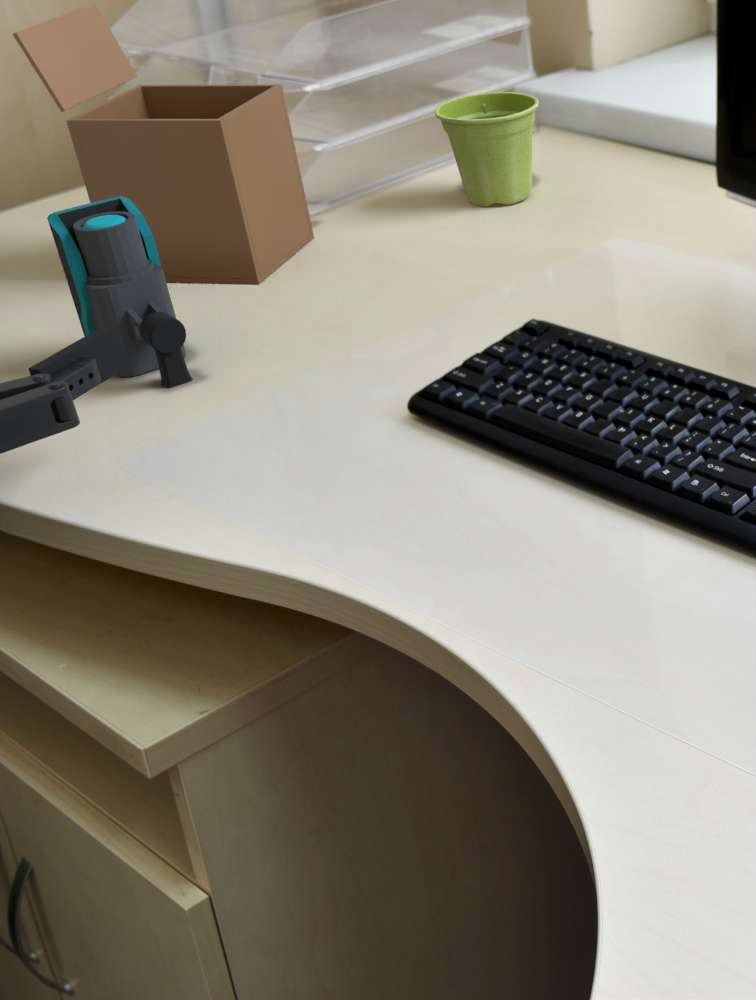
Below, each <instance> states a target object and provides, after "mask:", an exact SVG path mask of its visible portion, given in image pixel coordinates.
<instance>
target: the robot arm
mask: <svg viewBox="0 0 756 1000" xmlns="http://www.w3.org/2000/svg"><path fill="white" fill-rule="evenodd" d="M129 366H130V362H129V359H128V355H127V352H126V349H125V345H124V342H123V339H122V335H121V332H120V329H119V325H117V324H106V325H105V326H103V327H101V328H99V329H98V330H96V331H94V332H92V333H90V334H89V335H87V336H83V337H81V338H80V339H77V340H76V341H75V342H73V343H71V344H69V345H67V346H66V347H63V348H61V349H60V350H58V351H57V352H55V353H53V354H51V355H49V356H48V357H45V358H44V359H42V360H41V361H39V362H37V363H35V364H34V365H32V366H30V367H28V372H29V376H24V377H19V378H17V379H12V380H8V381H4V382H0V455H1V454H4V453H7V452H9V451H13V450H16V449H18V448H21V447H24V446H26V445H29V444H32V443H35V442H38V441H40V440H43V439H46V438H50V437H51V436H54V435H57V434H60V433H63V432H66V431H68V430H72V429H74V428H76V427H78V426H79V425H80V424H81V421H80V417H79V415H78V412H77V408H76V405H75V402H74V401H75V400H76V399H77V398H80V397H81V396H83V395H84V394H86V393H88V392H89V391H91V390H93V389H95V388H96V387H98V386H99V385H101V384H102V383H104V382H106V381H107V380H109V379H111V378H113V377H114V376H117V375H116V374H117V373H119V372H121V371H122V370H124V369H125V368H127V367H129Z"/></svg>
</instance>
